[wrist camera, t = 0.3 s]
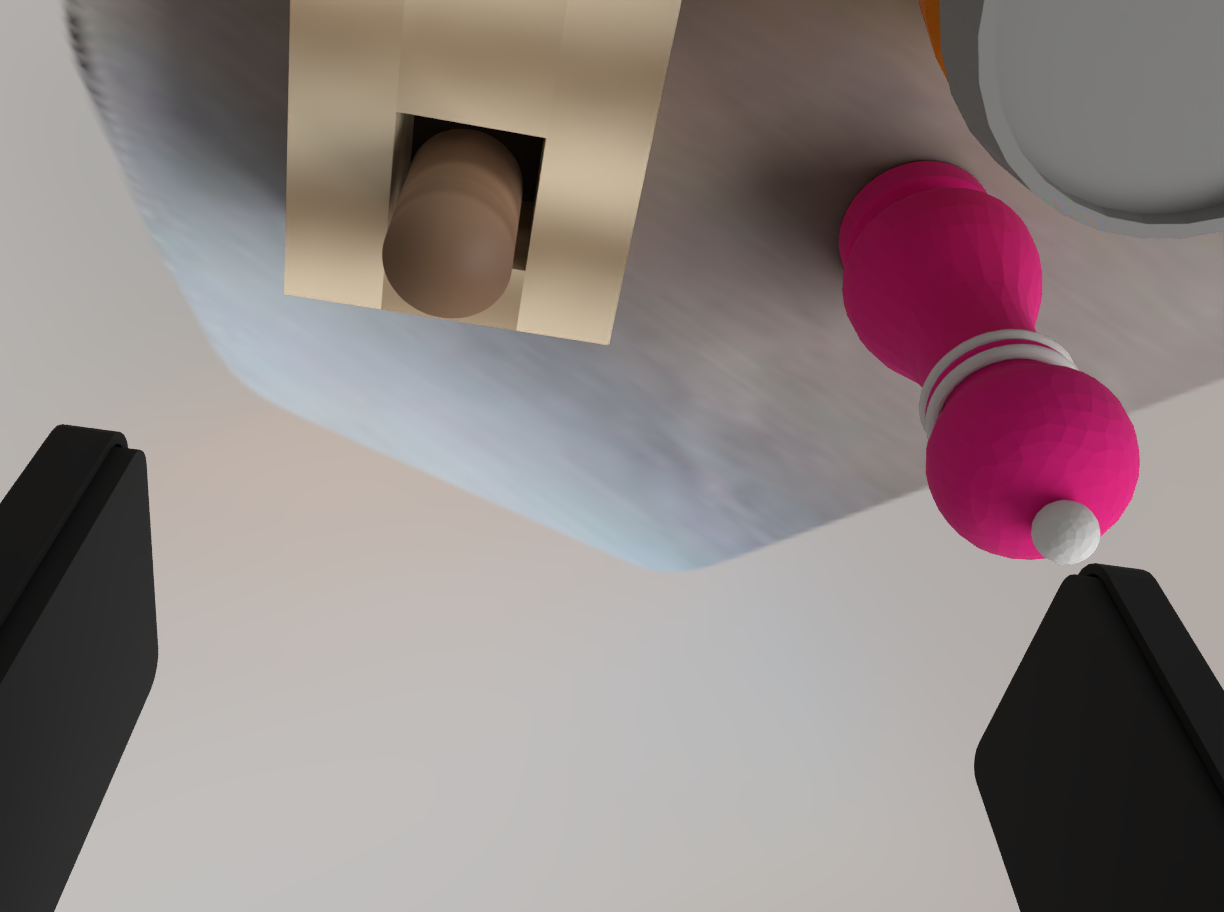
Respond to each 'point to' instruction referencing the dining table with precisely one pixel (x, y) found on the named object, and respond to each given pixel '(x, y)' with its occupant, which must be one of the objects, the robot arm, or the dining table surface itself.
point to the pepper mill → (984, 366)
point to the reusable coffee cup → (1096, 104)
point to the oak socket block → (487, 97)
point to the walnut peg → (455, 225)
